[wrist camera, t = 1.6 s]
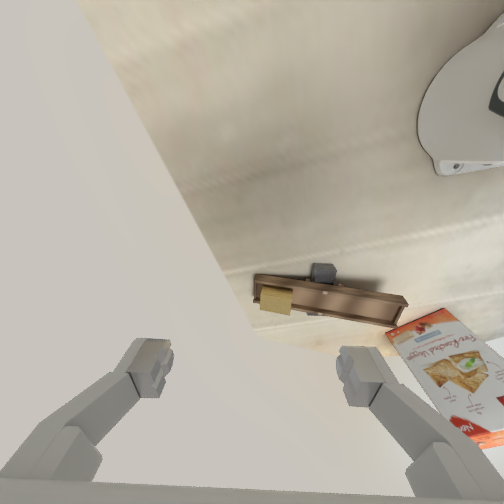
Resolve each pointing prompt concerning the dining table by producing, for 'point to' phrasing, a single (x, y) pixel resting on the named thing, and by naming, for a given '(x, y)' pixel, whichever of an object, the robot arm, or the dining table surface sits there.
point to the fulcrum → (322, 276)
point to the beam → (338, 301)
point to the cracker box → (456, 374)
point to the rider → (276, 299)
